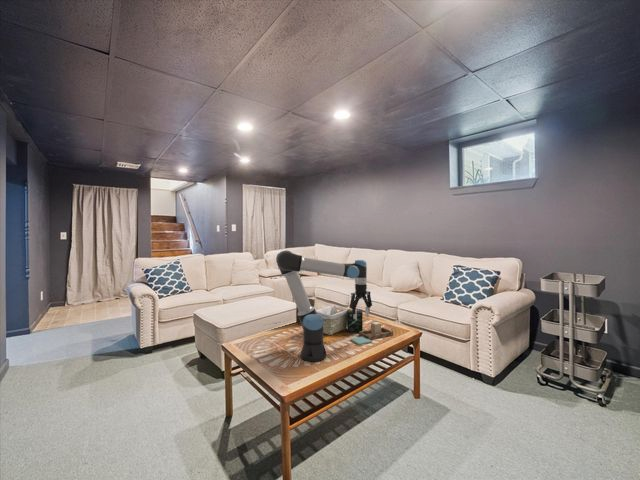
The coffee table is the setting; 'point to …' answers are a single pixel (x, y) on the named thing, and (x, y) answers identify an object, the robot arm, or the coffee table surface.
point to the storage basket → (333, 319)
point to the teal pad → (361, 340)
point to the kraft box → (375, 328)
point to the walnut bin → (383, 334)
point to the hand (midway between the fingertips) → (361, 318)
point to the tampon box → (355, 321)
